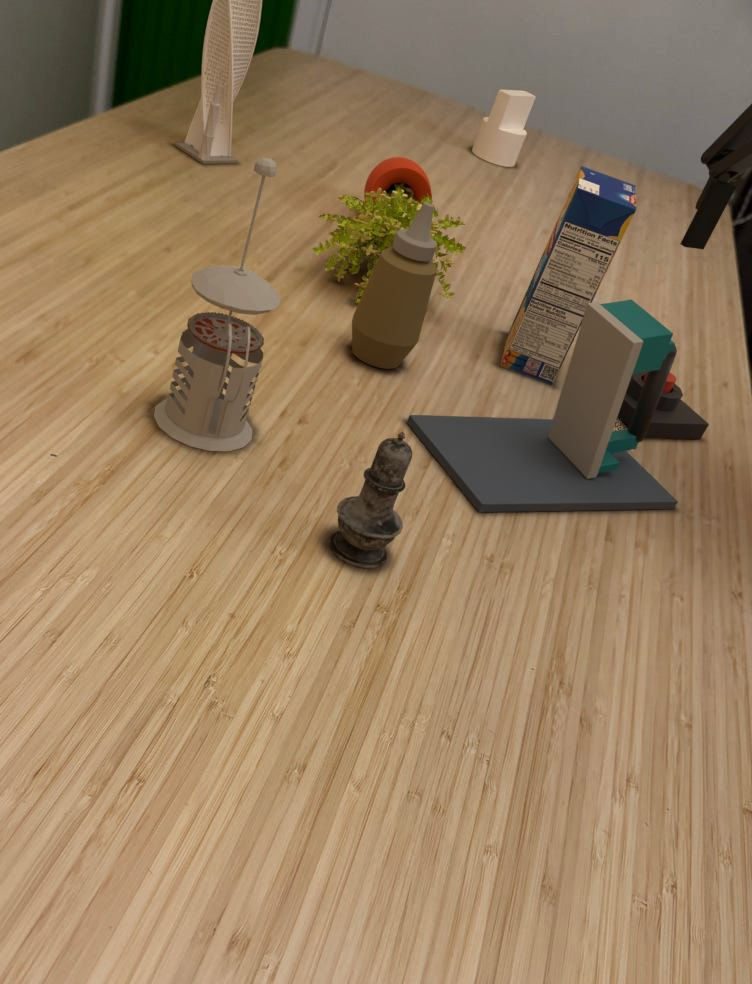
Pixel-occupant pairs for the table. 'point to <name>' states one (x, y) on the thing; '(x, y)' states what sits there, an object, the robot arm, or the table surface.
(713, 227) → the robot arm
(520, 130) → the cylinder with rectangular tab
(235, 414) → the french press
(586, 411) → the iron
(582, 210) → the beverage box
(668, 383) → the power button
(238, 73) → the skyscraper
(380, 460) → the salt shaker
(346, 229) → the potted plant
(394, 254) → the squeeze bottle
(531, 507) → the ironing mat
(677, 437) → the button base
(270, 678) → the table surface
